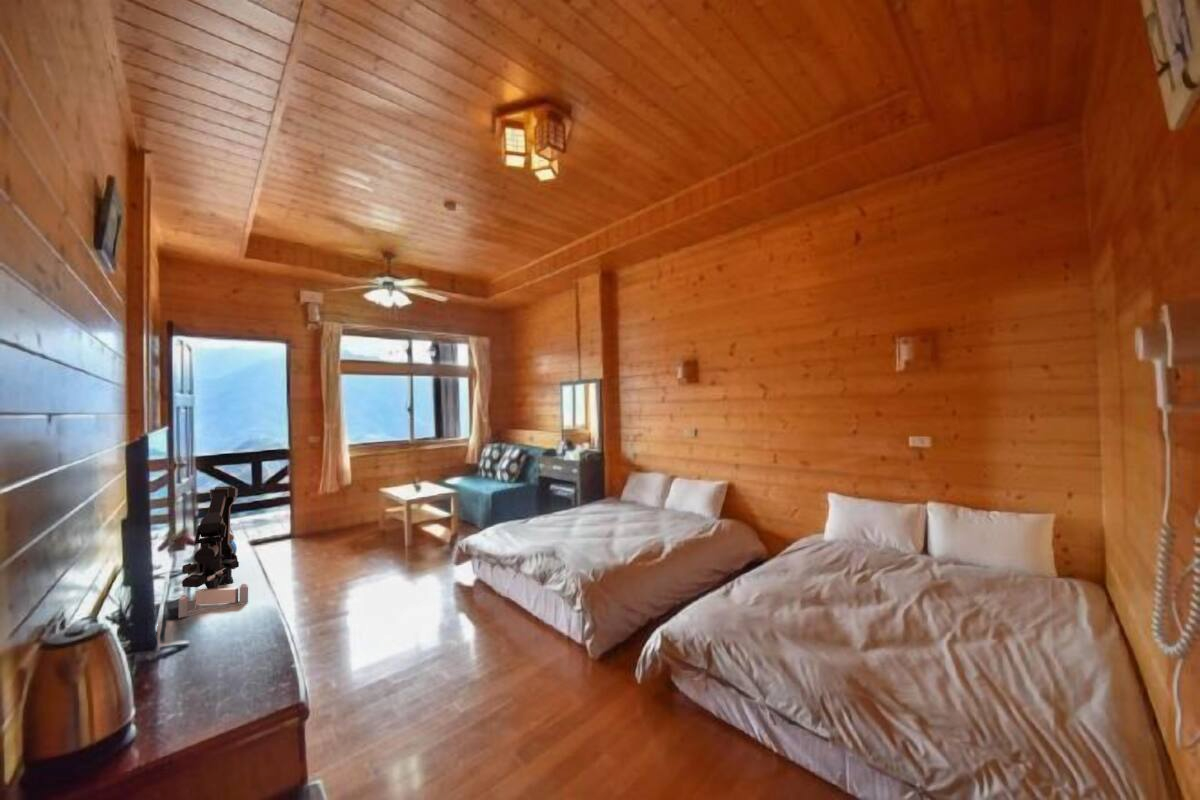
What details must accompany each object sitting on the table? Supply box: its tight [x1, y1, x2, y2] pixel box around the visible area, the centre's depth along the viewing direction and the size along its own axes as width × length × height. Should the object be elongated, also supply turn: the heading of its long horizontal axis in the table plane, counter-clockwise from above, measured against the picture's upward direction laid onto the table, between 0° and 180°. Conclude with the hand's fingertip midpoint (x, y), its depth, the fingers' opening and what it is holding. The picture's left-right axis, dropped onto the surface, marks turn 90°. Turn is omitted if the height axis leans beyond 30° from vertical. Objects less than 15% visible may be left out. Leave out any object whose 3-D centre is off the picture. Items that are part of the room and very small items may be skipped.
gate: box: [195, 587, 239, 606], centre depth 173 cm, size 2×14×5 cm, turn 99°
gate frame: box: [178, 582, 249, 619], centre depth 170 cm, size 3×19×7 cm, turn 131°
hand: (212, 595), depth 175 cm, fingers closed
